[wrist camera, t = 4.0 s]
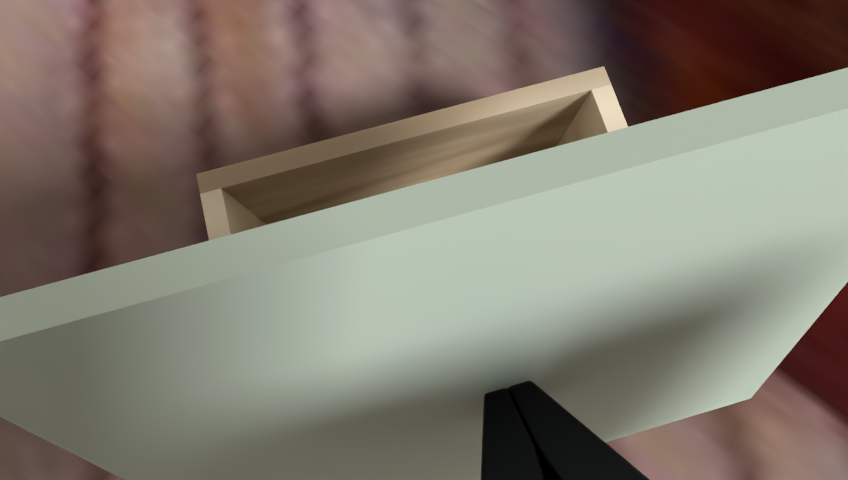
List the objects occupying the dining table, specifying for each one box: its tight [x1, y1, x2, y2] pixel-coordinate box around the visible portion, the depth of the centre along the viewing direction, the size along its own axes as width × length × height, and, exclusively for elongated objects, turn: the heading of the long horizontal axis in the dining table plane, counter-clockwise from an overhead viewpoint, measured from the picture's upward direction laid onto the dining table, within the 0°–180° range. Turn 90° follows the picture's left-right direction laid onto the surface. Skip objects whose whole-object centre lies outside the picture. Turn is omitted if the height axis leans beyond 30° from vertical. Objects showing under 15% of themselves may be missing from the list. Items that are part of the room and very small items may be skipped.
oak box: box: [196, 66, 628, 240], centre depth 16 cm, size 9×12×5 cm
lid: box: [0, 68, 848, 480], centre depth 9 cm, size 9×12×1 cm
